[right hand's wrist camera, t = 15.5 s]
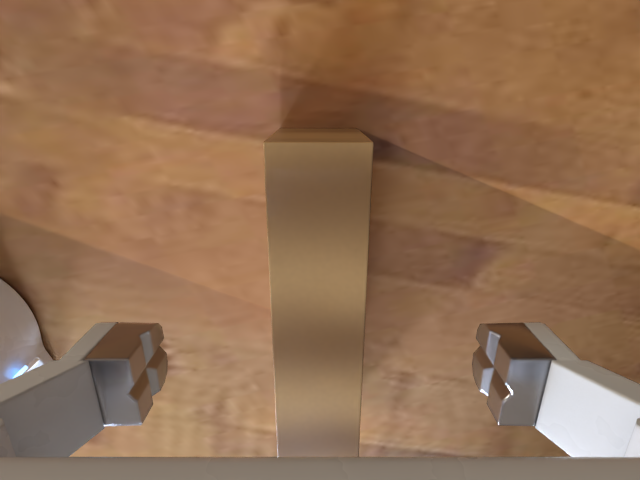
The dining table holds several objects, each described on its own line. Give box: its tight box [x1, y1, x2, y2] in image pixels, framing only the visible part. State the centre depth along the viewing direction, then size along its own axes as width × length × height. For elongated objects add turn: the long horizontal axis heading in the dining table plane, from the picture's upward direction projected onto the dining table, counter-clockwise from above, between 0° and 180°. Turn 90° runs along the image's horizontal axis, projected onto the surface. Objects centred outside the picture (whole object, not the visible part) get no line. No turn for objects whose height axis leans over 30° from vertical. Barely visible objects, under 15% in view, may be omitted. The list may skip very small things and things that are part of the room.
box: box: [263, 128, 374, 457], centre depth 31 cm, size 27×6×10 cm, turn 0°
